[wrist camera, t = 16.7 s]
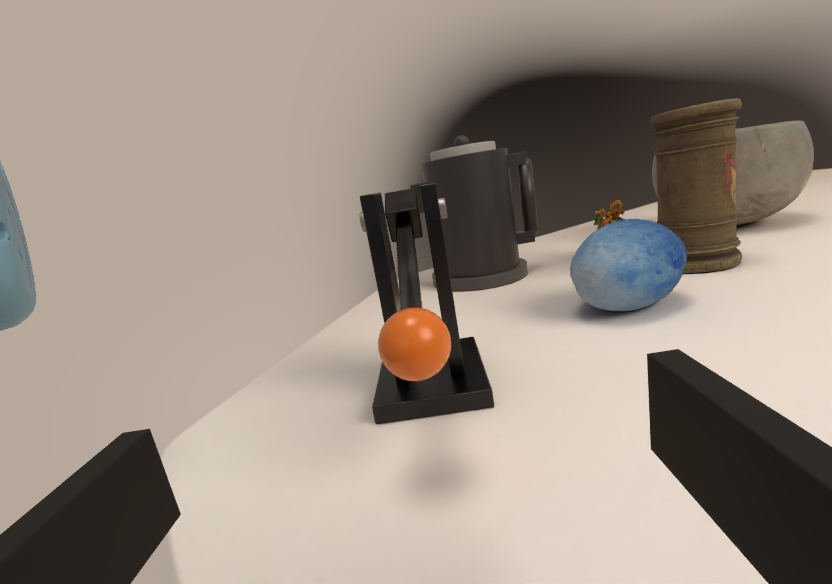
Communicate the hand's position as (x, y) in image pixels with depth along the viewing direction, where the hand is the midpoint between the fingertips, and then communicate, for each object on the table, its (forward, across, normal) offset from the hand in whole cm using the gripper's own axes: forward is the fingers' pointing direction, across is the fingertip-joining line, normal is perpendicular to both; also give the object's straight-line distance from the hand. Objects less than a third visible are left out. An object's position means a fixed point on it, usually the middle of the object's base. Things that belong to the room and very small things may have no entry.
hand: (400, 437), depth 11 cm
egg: (+31, -21, +9) cm, 39 cm away
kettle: (+52, -8, +8) cm, 54 cm away
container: (+41, -33, +9) cm, 54 cm away
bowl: (+61, -50, +9) cm, 80 cm away
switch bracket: (+20, 0, +9) cm, 22 cm away
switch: (+16, 0, 0) cm, 16 cm away
